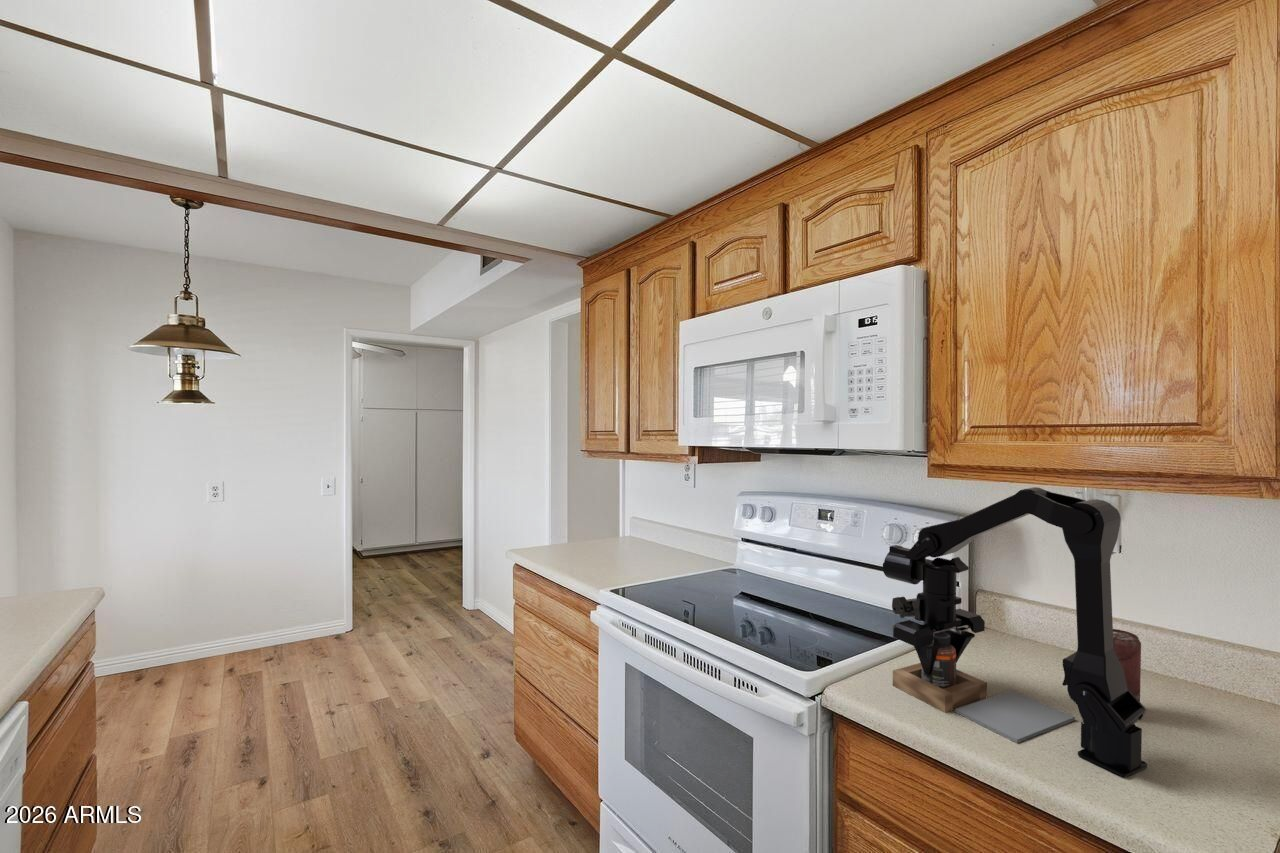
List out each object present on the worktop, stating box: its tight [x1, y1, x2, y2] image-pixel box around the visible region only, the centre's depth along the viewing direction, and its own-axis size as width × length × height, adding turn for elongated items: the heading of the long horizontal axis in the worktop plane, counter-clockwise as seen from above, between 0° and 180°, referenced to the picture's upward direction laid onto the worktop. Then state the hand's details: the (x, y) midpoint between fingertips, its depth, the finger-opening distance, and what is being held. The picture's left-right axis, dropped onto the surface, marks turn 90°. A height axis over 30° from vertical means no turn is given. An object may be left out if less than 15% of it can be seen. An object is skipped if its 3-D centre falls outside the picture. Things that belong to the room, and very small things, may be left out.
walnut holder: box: [892, 662, 988, 713], centre depth 114 cm, size 12×12×3 cm
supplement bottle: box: [922, 631, 957, 689], centre depth 114 cm, size 6×6×11 cm
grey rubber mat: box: [954, 689, 1076, 744], centre depth 105 cm, size 11×16×1 cm
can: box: [1113, 628, 1142, 703], centre depth 106 cm, size 6×6×14 cm
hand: (938, 671), depth 114 cm, fingers closed on supplement bottle, 6 cm apart
